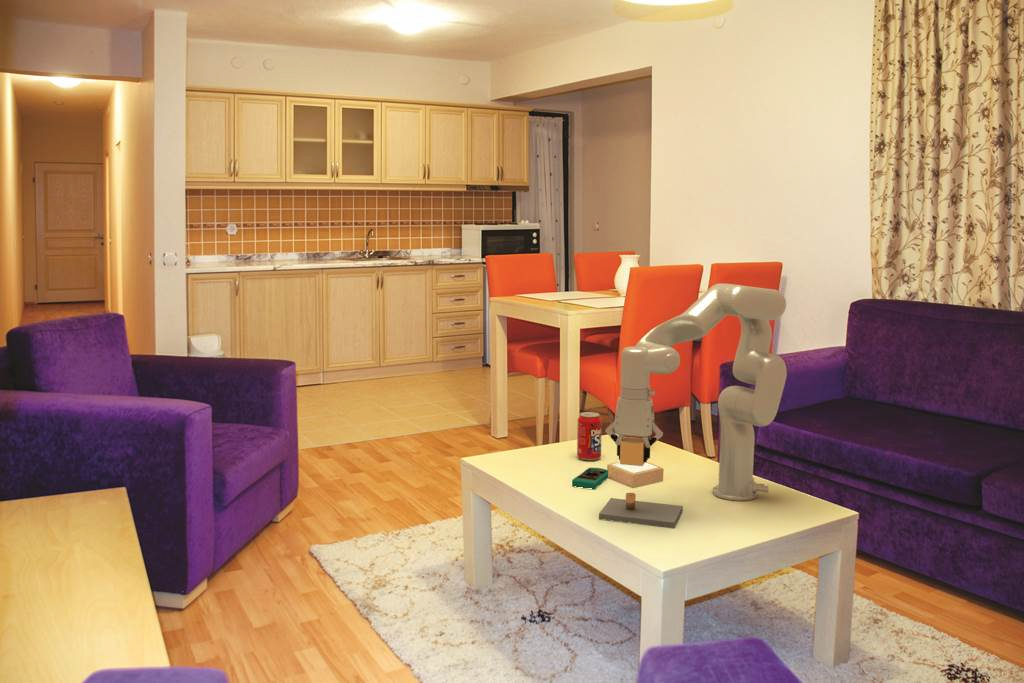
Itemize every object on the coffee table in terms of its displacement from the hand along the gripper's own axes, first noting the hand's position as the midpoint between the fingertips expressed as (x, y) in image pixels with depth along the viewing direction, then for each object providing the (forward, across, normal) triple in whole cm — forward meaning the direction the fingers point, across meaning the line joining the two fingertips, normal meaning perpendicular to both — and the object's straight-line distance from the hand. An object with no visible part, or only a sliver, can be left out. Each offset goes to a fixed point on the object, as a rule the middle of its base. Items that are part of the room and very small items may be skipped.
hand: (633, 459), depth 242 cm
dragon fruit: (+16, +12, -70) cm, 73 cm away
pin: (+14, +1, -1) cm, 14 cm away
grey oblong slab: (+15, -2, 0) cm, 16 cm away
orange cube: (+1, 0, 0) cm, 1 cm away
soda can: (+16, +24, -50) cm, 57 cm away
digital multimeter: (+16, +17, -25) cm, 35 cm away
